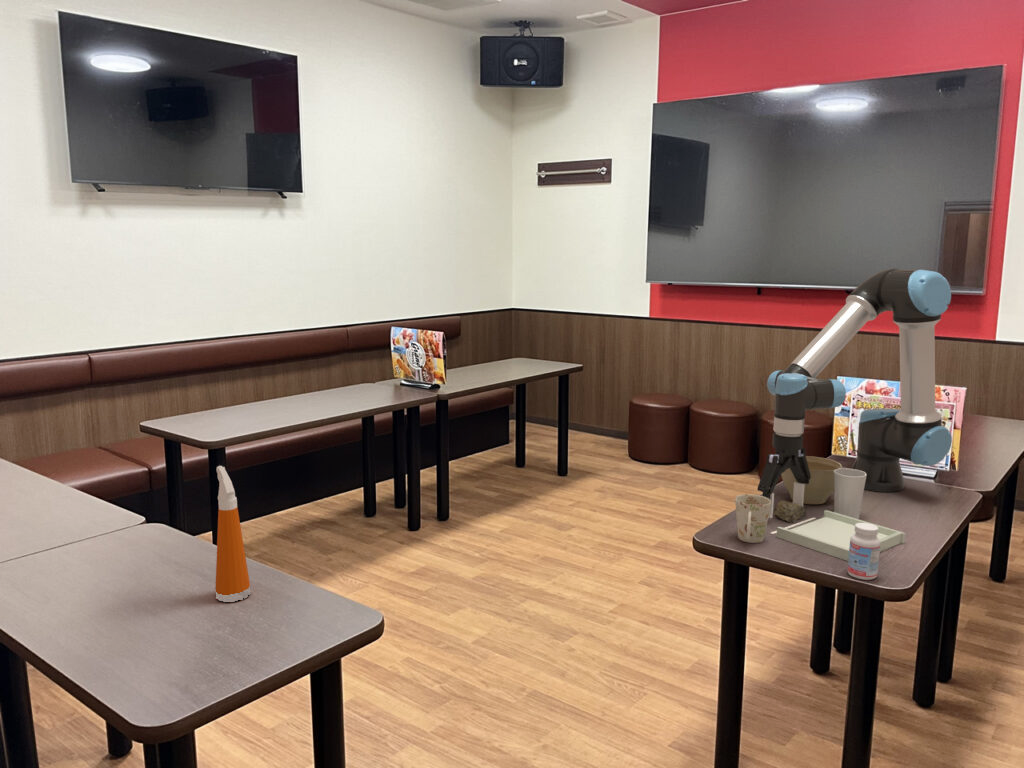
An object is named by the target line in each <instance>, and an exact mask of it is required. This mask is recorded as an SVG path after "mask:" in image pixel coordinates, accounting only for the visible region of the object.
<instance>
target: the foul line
mask: <svg viewBox="0 0 1024 768" xmlns="http://www.w3.org/2000/svg"><path fill="white" fill-rule="evenodd" d="M815 520H817V518H816V517H814V516H813V517H811V518H807V519H804V520H802V521H799V522H797V523H793V524H790V525H789V526H786V527H784V528H785V529H788V530H790V529H793V528H796V527H799V526H801V525H804V524H807V523H810V522H813V521H815ZM769 534H770V535H775V534H776V535H777V530H774V531H771V532H770V533H769Z"/></svg>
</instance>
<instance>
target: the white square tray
mask: <svg viewBox="0 0 1024 768" xmlns="http://www.w3.org/2000/svg"><path fill="white" fill-rule="evenodd" d="M857 523H869V524H873V525H875V526H877V527H878V535H877V537H878V538H879V539H880V553H882V552H884V551H886V550H889V549H890V548H893V547H896V546H897V545H900V544H905V542H906V532H903V531H900V530H896V529H892V528H890V527H887V526H883V525H879V524H877V523H876V524H875V523H872V522H868V521H866V520H862V519H860V518H859V519H855V518H852V517H849V516H845V515H842V514H838V513H835V512H834V511H830V510H829V509H828V510H823V517H821V518H819V519H815V520H812V521H809V522H806V523H803V524H801V525H798V526H795V527H792V528H790V529H785V527H781V526H777V527H776V531H777V533H776V538H778V539H781V540H783V541H787V542H790V543H793V544H796V545H800V546H802V547H804V548H808V549H811V550H814V551H816V552H820V553H822V554H825V555H829V556H832V557H834V558H838V559H841V560H844V561H847V562H848V559H849V547H850V538H851V536H852V535H853V534H855V533H856V532H855V530H854V529H855V524H857Z"/></svg>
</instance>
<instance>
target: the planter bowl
mask: <svg viewBox="0 0 1024 768" xmlns="http://www.w3.org/2000/svg"><path fill="white" fill-rule="evenodd" d="M806 459H807V463H808V467H809V471H810V476H811V479H810V480H809V484H805V489H804V501H803V504H806V505H823V504H824V503H826V502H827V500H828V497H829V496H830V495H831V494H832V493H834V470H835V469H840V468H843V466H842V464H841V463H840V462H839V461H836V460H833V459H829V458H825V457H819V456H813V455H812V456H810V455H809V456H808V455H806ZM804 474H805V473H804ZM781 478H782V481H783V484H784V486H785V488H786V490H787V491H788V494H789V495H790V499H791V500H792V501H793V492H794V482H798V481H796V479H795V477H794V475H793V473H792V471H791V469H790V468H788V469H786V470H785V472H783V473H782V474H781Z"/></svg>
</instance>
